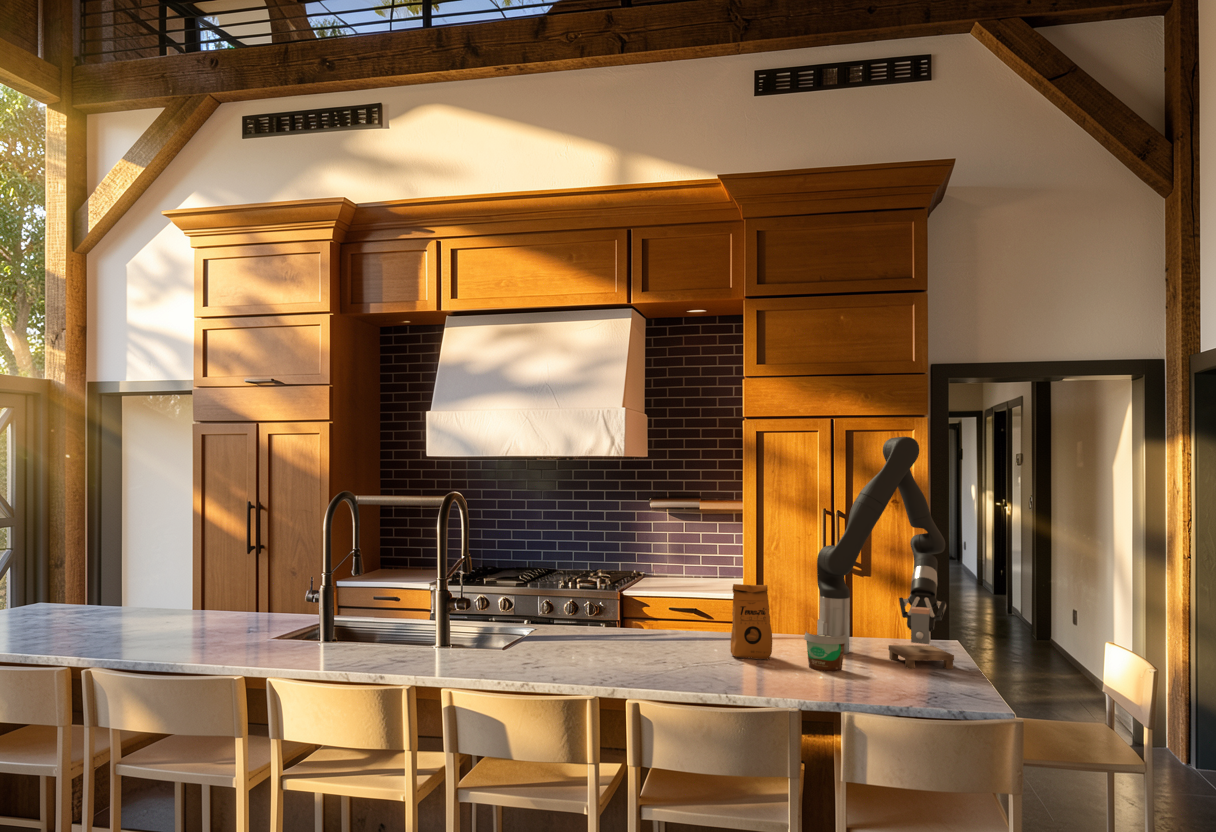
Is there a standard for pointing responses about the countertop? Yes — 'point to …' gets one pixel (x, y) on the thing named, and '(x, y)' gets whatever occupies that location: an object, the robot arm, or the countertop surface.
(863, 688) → the countertop surface
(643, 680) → the countertop surface
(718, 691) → the countertop surface
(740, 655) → the coffee package
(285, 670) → the countertop surface
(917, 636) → the block
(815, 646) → the food container
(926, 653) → the walnut stand
